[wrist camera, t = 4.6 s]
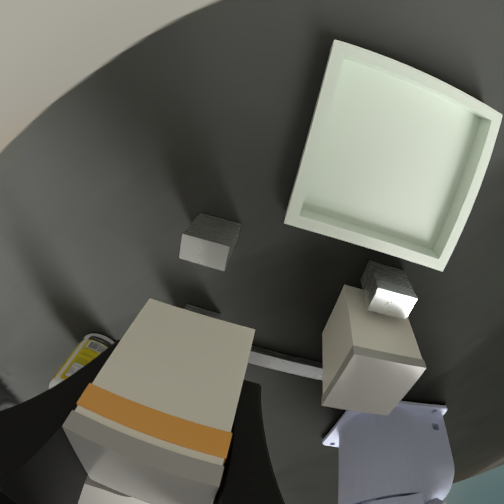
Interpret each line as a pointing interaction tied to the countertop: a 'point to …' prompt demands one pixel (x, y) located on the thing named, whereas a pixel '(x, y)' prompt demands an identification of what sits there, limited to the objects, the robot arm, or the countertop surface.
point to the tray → (391, 158)
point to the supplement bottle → (82, 356)
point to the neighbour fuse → (367, 357)
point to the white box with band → (163, 407)
